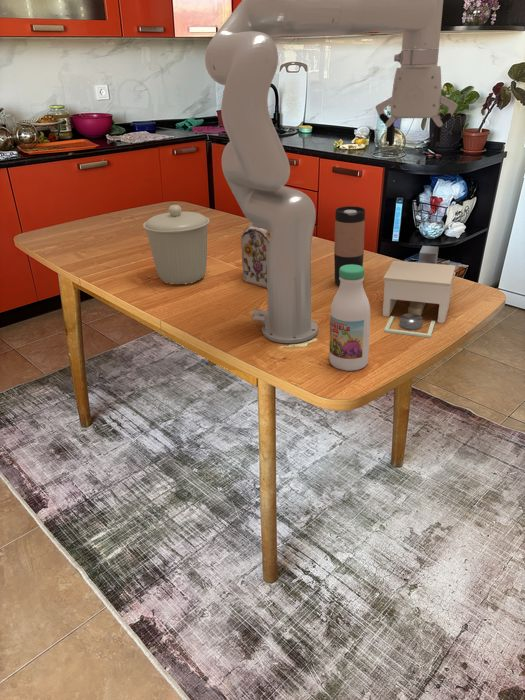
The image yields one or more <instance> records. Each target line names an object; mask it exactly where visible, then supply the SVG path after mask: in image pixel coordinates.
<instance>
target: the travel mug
mask: <svg viewBox="0 0 525 700" xmlns="http://www.w3.org/2000/svg"><path fill="white" fill-rule="evenodd" d="M334 213H335V214H334V215H335V220H334V221H335V222H334V252H333V253H334V254H333V255H334V256H333V258H334V261H333V263H334V285H335V286H336V287H338V288H339V286H340V279H339V277H340V276H339V269H340V267H341V266H344V265H350V264H353V265H360V266H362V267H363V268H364V255H365V254H364V252H365V226H366V225H365V221H366V209H365V208H364V207H361V206H349V205H348V206H340V207H338V208H336V209H335V212H334Z"/></svg>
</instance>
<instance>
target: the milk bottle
mask: <svg viewBox="0 0 525 700" xmlns="http://www.w3.org/2000/svg"><path fill="white" fill-rule="evenodd" d="M339 276H340V277H339V279H340V286H339V287H338V289H337V292H336V293H335V295H334V297H333V300H332V303H331V305H330V316H329V318H330V319H329V353H328V354H329V356H328V357H329V362H330V364H331V366H333V367H334V368H335V369H337V370H341V371H347V372H348V371H349V372H352V371H353V372H354V371H360V370H361V369H363V368H365V367H366V366H367V365H368V363H369V353H370V336H371V335H370V334H371V333H370V332H371V330H370V329H371V306H370V301H369V299H368V297H367V294H366V291H365V289H364V284H363V281H364V279H365V268H364V266H363V267H362V266H360V265H353V264H350V265H344V266H341V267H340V269H339Z"/></svg>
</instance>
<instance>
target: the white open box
mask: <svg viewBox="0 0 525 700" xmlns="http://www.w3.org/2000/svg"><path fill="white" fill-rule="evenodd" d="M455 271H456V265H453V264H444V263H443V264H441V263H437V264H430V263H419V261H418V262H416V261H407V260H406V261H403V260H393V261H392V262H391V264H390V266H389V267H388V269H387V270H386V273H385V274H384V276H383V277H382V278H383V281H384V289H383V301H382V302H383V303H382V304H383V305H382V317H389V318H390V317H391V316H390V315H391V313H392V311H393V310H394V307H395V305H396V303H397V301H408V302H411V301H415V302H425V304H437V305H438V306H439V307H438V315H437V323H439V324H440V323H441V324H445V323H446V322H445V321H446V319H447V315H448V311H449V307H450V303H451V296H452V295H451V294H452V286H453V277H454V275H455Z"/></svg>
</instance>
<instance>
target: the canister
mask: <svg viewBox="0 0 525 700" xmlns="http://www.w3.org/2000/svg"><path fill="white" fill-rule="evenodd" d="M210 222H211V220H210V218H209V217H207V216H205V215H204V214H202V213H199V212H195V211H188V210H187V211H182V207H181V206H180V205H178V204H172V205H170V206H169V207H168V212H165V213H163V212H162V213H160V214H156V215H154V216H151V217H150V218H148V219H147V221H145V222H144V223H143V224H142V227H143V230H145V231H146V235H147V238H148V239H147V240H148V243H149V246H150V251H151V256H152V259H153V262H154V266H155V269H156V273H157V276H158V278H159V279H160V280H161V281H162V282H163V281H164V283H165V282H167V283H166V284H168V283H173V284H184V285H186V284H185V283H190V284H192V283H191V282H194V281H197V280H199V281H201V280H202V279H204V278H203V277H204V276H205V274H206V273H207V264H208V263H207V259H208V225H209V224H210ZM201 278H202V279H201ZM197 282H198V281H197ZM194 283H195V282H194Z"/></svg>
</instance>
